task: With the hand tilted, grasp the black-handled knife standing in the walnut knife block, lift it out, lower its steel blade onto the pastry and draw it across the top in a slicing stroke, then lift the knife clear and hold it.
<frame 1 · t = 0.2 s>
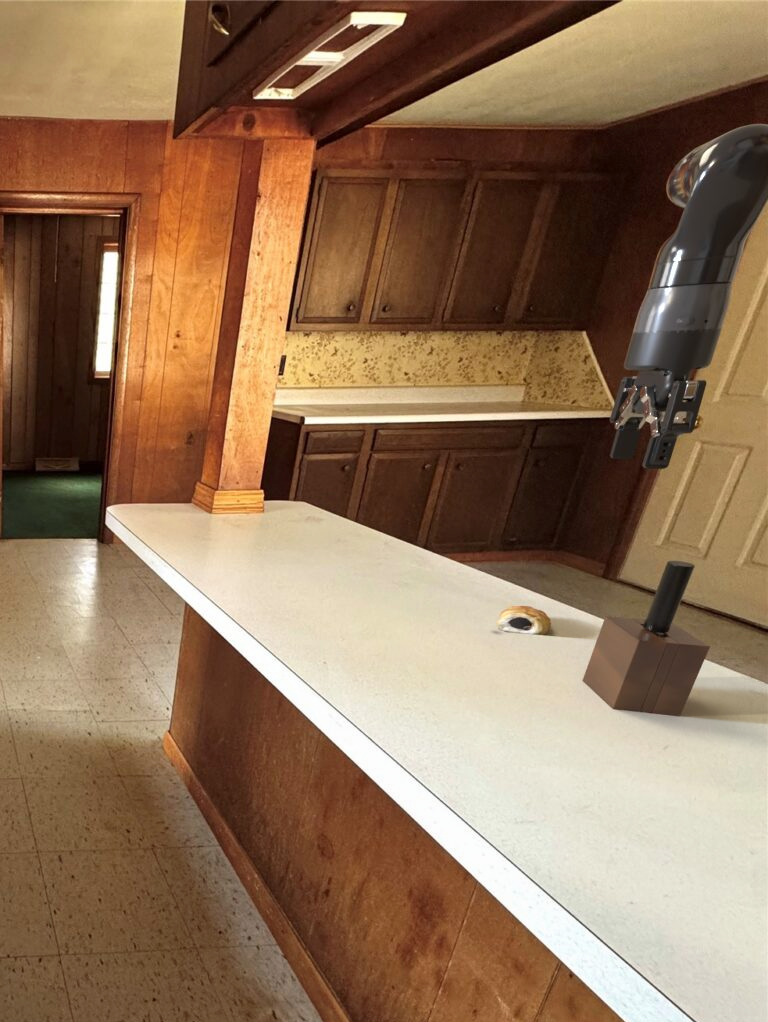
hand: (636, 463, 85), 31 cm above the countertop, tool pointing down, fingers open, 8 cm apart
knife: (628, 697, 89), point 1 cm above the countertop, touching knife block
knife block: (626, 703, 90), on the countertop
pastry: (521, 628, 113), on the countertop
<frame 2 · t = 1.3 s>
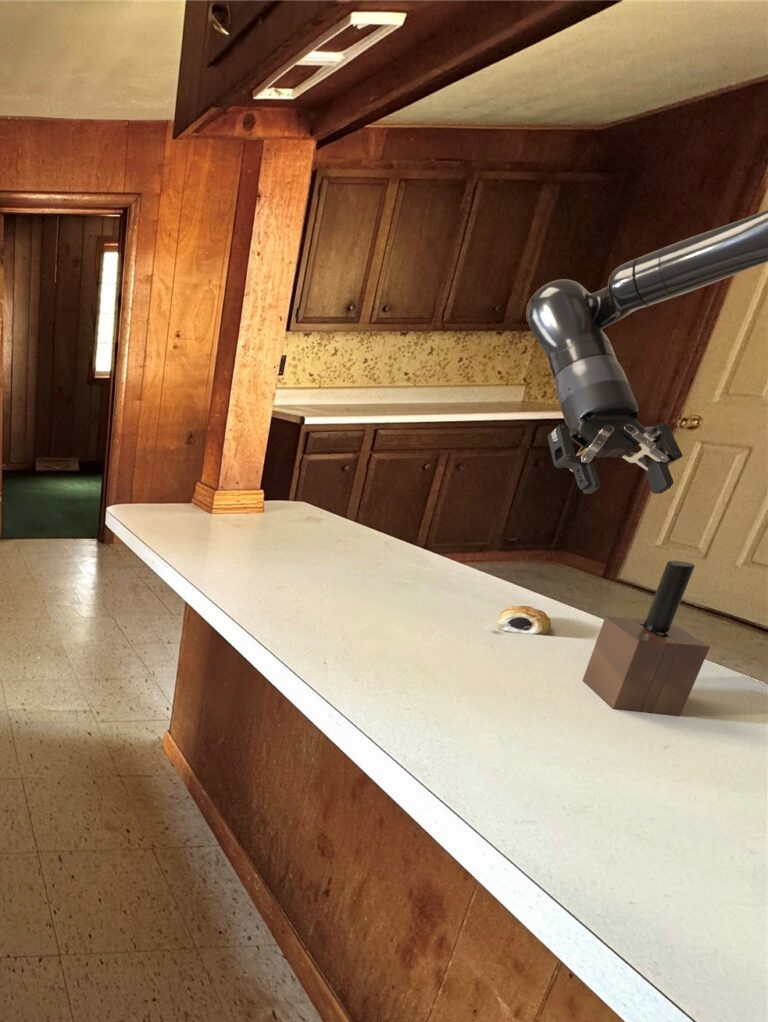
hand: (627, 490, 90), 27 cm above the countertop, tool tilted 45°, fingers open, 8 cm apart
nothing on the countertop moved.
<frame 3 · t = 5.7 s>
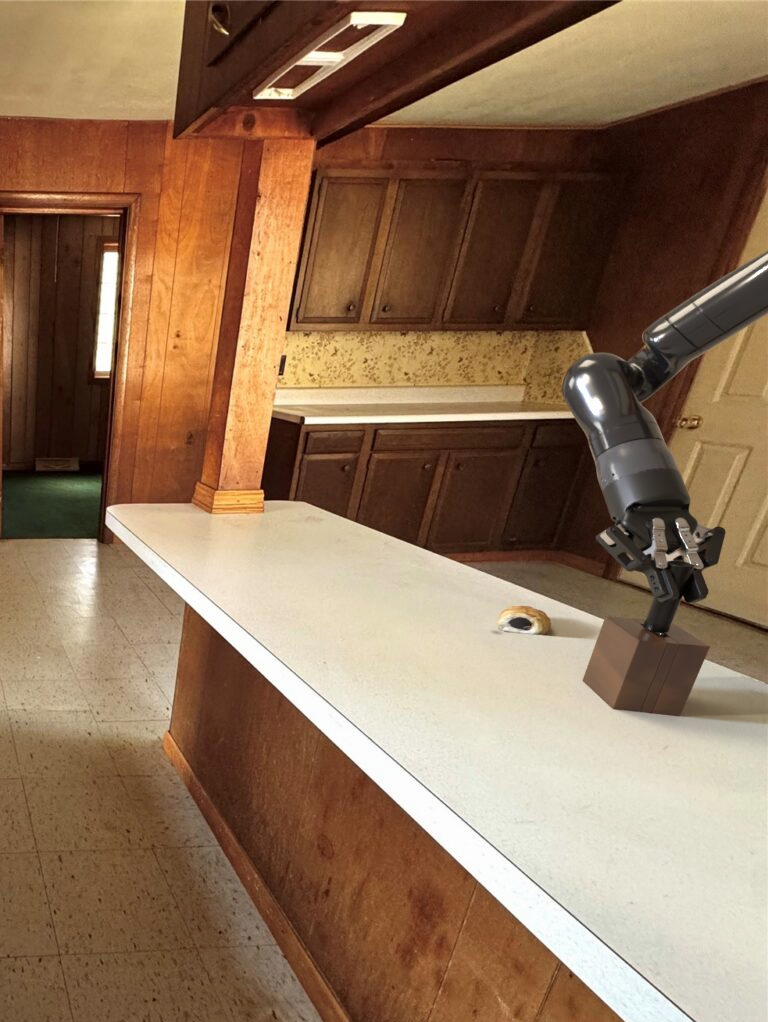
hand: (683, 599, 82), 16 cm above the countertop, tool tilted 45°, fingers closed on knife, 2 cm apart
knife: (628, 697, 89), point 1 cm above the countertop, touching gripper, knife block
everything else where it was.
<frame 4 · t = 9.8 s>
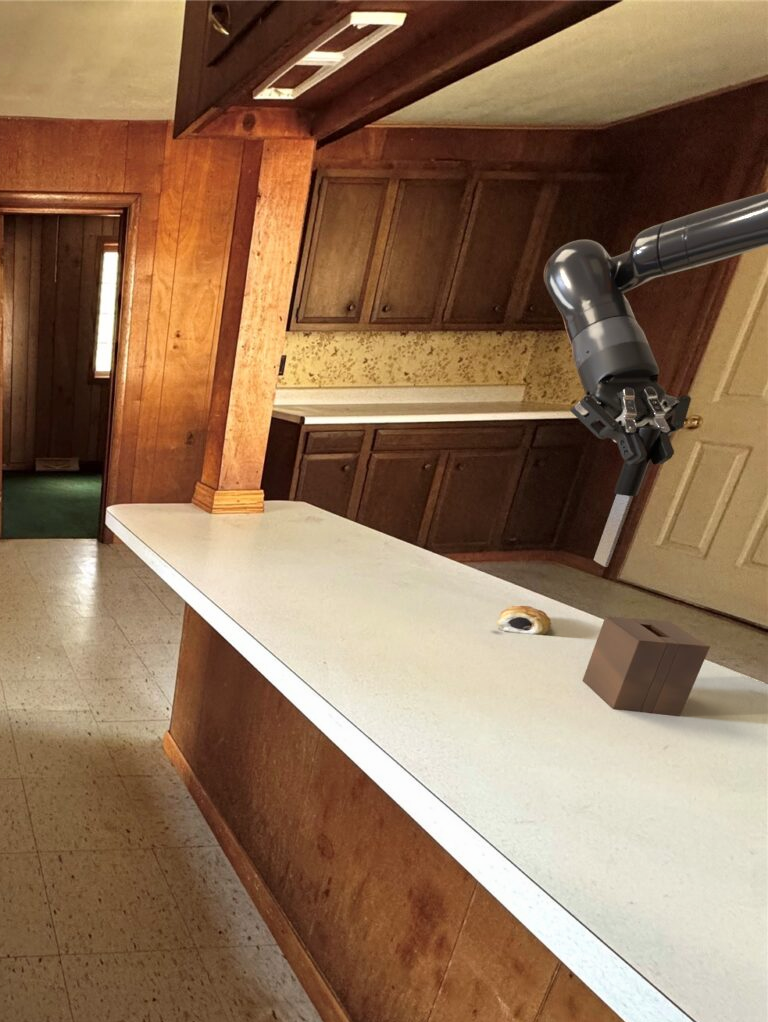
hand: (650, 460, 87), 31 cm above the countertop, tool tilted 45°, fingers closed on knife, 2 cm apart
knife: (600, 563, 95), point 16 cm above the countertop, touching gripper
everything else where it was.
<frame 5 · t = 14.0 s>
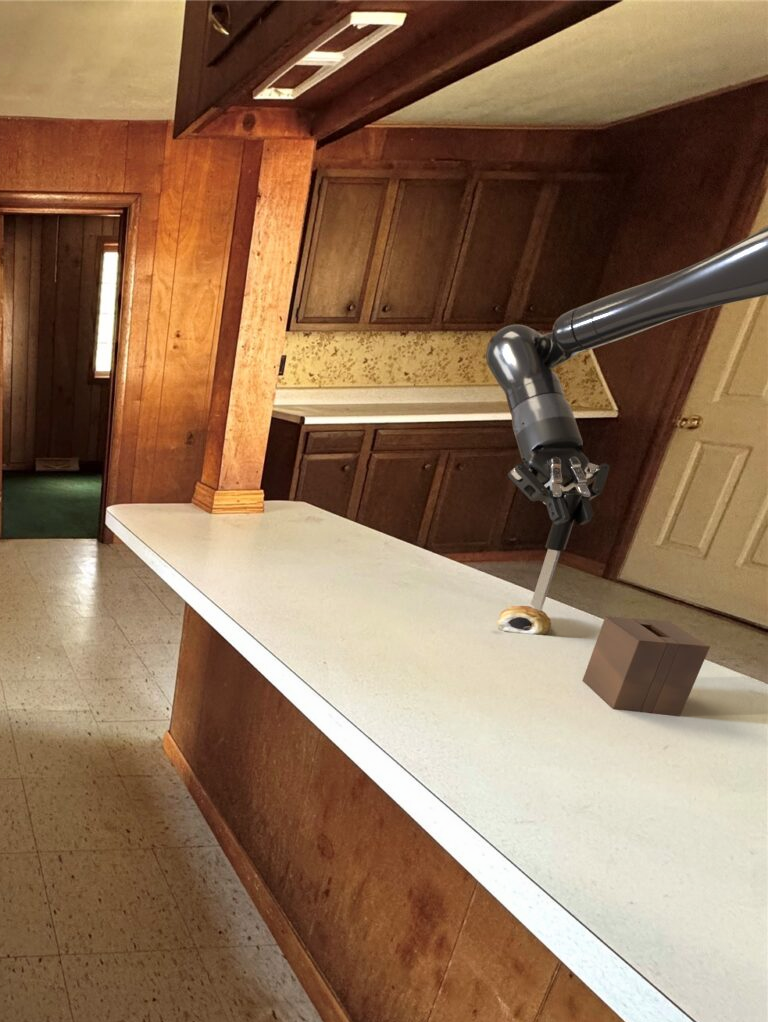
hand: (573, 521, 101), 20 cm above the countertop, tool tilted 45°, fingers closed on knife, 2 cm apart
knife: (536, 607, 108), point 5 cm above the countertop, touching gripper
everything else where it was.
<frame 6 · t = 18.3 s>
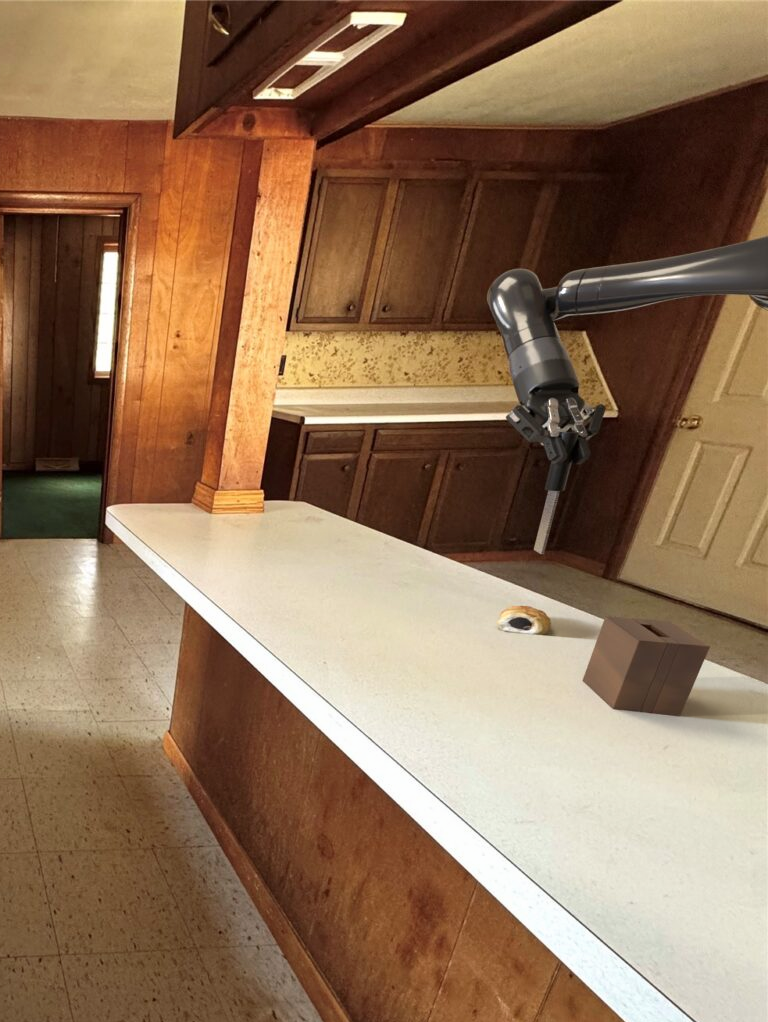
hand: (571, 460, 102), 28 cm above the countertop, tool tilted 45°, fingers closed on knife, 2 cm apart
knife: (538, 552, 109), point 13 cm above the countertop, touching gripper
everything else where it was.
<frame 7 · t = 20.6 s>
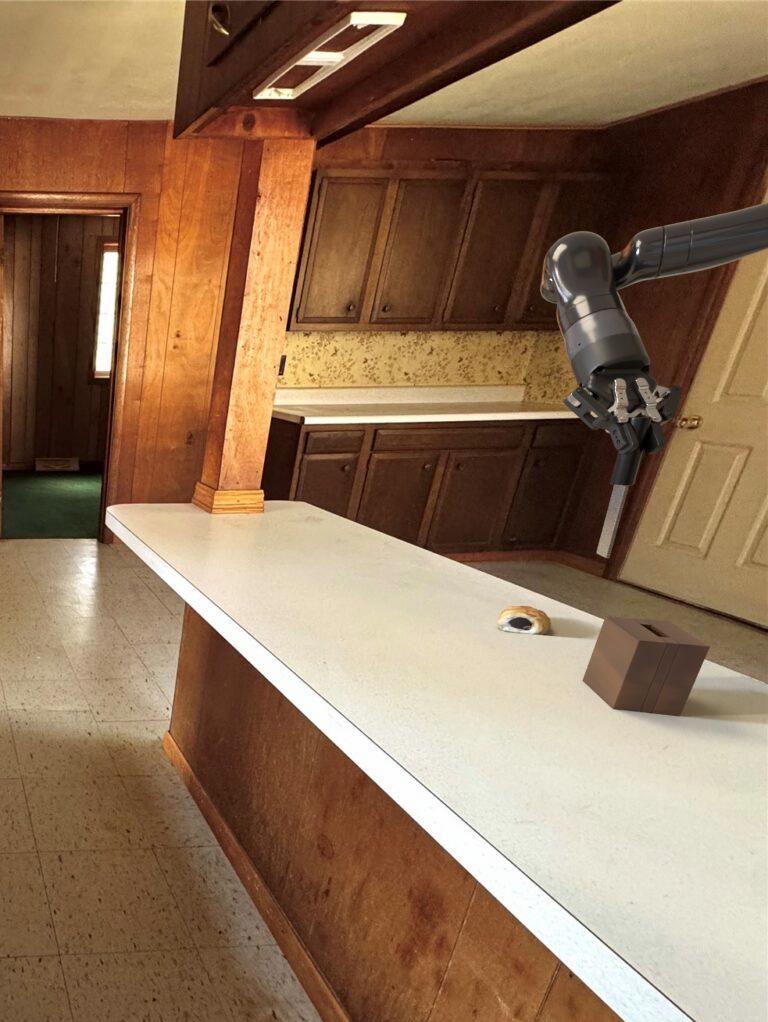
hand: (643, 450, 88), 32 cm above the countertop, tool tilted 45°, fingers closed on knife, 2 cm apart
knife: (602, 555, 95), point 17 cm above the countertop, touching gripper
everything else where it was.
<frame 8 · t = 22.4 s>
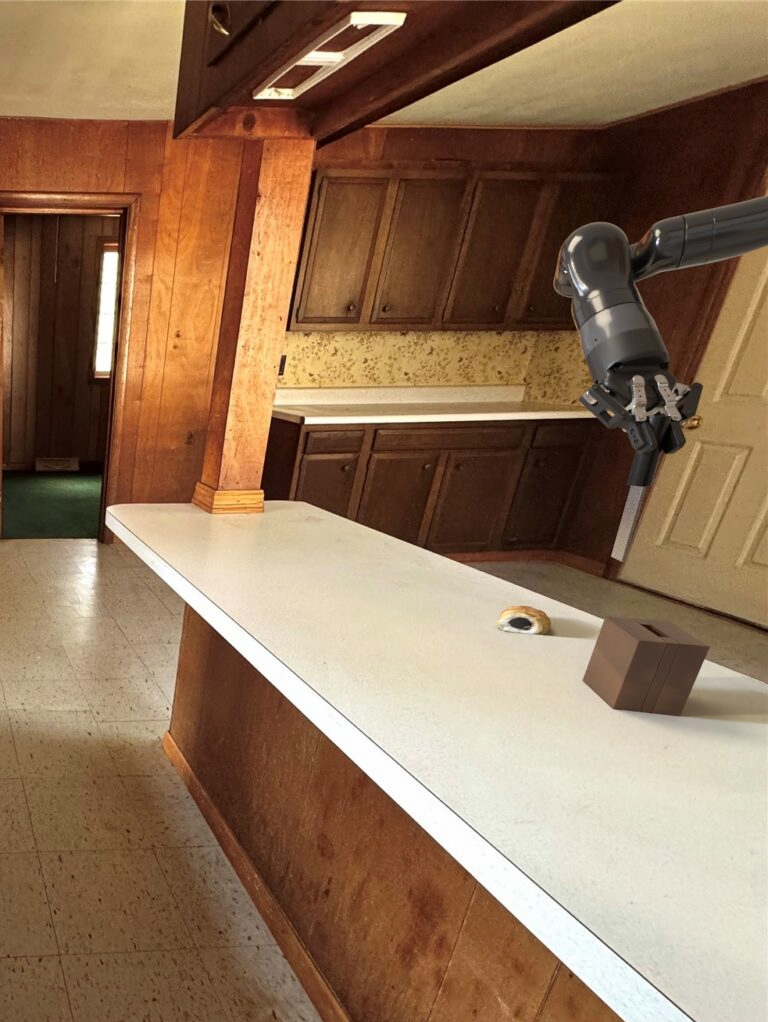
hand: (661, 450, 85), 33 cm above the countertop, tool tilted 45°, fingers closed on knife, 2 cm apart
knife: (617, 559, 91), point 18 cm above the countertop, touching gripper
everything else where it was.
at the end: the gripper is holding knife; knife moved 19.0 cm from its start; pastry moved 0.2 cm from its start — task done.
